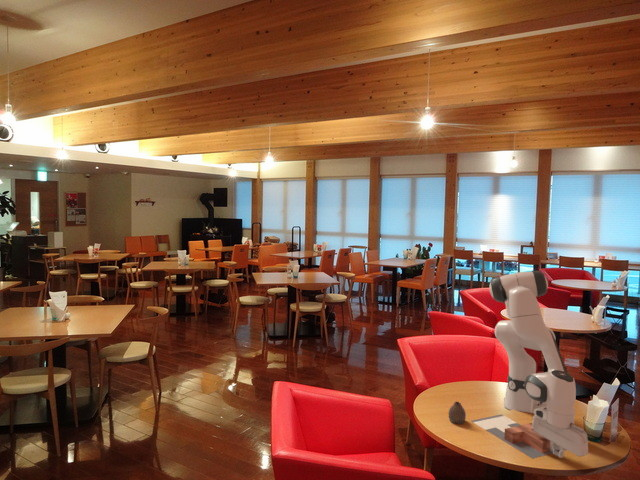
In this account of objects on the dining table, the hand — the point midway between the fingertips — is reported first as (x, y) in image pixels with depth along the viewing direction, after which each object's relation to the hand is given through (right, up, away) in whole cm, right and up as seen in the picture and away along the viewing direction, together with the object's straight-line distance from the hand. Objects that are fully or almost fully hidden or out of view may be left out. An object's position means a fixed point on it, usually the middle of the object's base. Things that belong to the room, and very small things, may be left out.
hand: (558, 455), depth 163 cm
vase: (-28, 0, +28) cm, 40 cm away
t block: (-5, 0, +11) cm, 11 cm away
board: (-8, -1, +18) cm, 19 cm away
